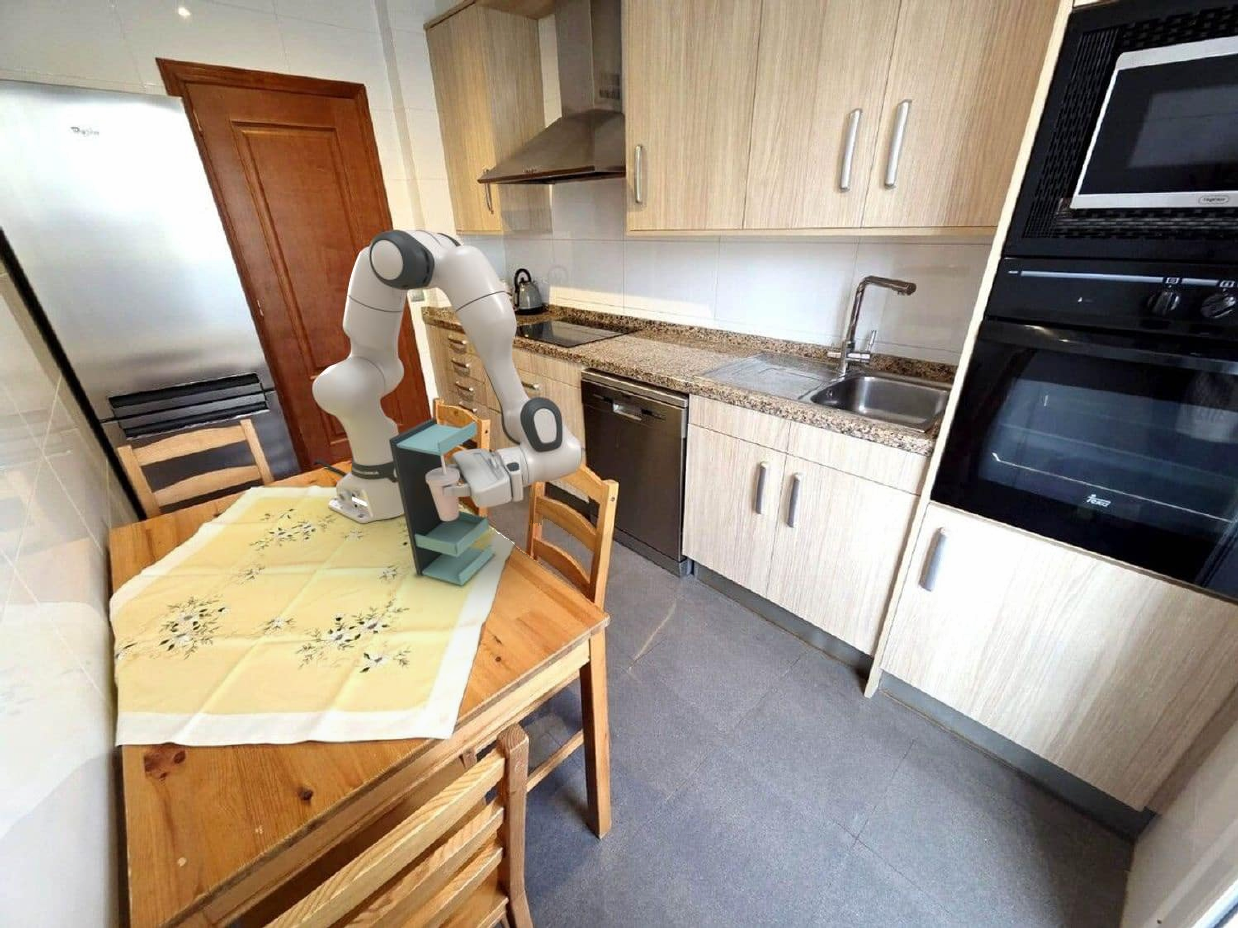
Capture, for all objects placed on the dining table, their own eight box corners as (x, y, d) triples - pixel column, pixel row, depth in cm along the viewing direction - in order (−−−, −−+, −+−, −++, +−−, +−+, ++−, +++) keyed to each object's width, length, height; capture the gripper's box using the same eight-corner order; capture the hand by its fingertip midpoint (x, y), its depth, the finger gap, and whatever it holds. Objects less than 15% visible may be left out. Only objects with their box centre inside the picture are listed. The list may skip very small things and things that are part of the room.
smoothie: (456, 526, 99) (445, 462, 92) (426, 522, 100) (414, 459, 94) (471, 509, 104) (462, 448, 98) (442, 506, 105) (432, 445, 99)
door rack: (416, 574, 105) (387, 434, 91) (452, 543, 116) (431, 413, 101) (460, 587, 102) (437, 443, 88) (493, 554, 112) (477, 420, 98)
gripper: (492, 437, 111) (426, 449, 105) (522, 475, 95) (447, 492, 89) (494, 463, 114) (431, 476, 108) (525, 504, 98) (452, 522, 92)
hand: (439, 484), depth 98 cm, fingers closed on smoothie, 6 cm apart
